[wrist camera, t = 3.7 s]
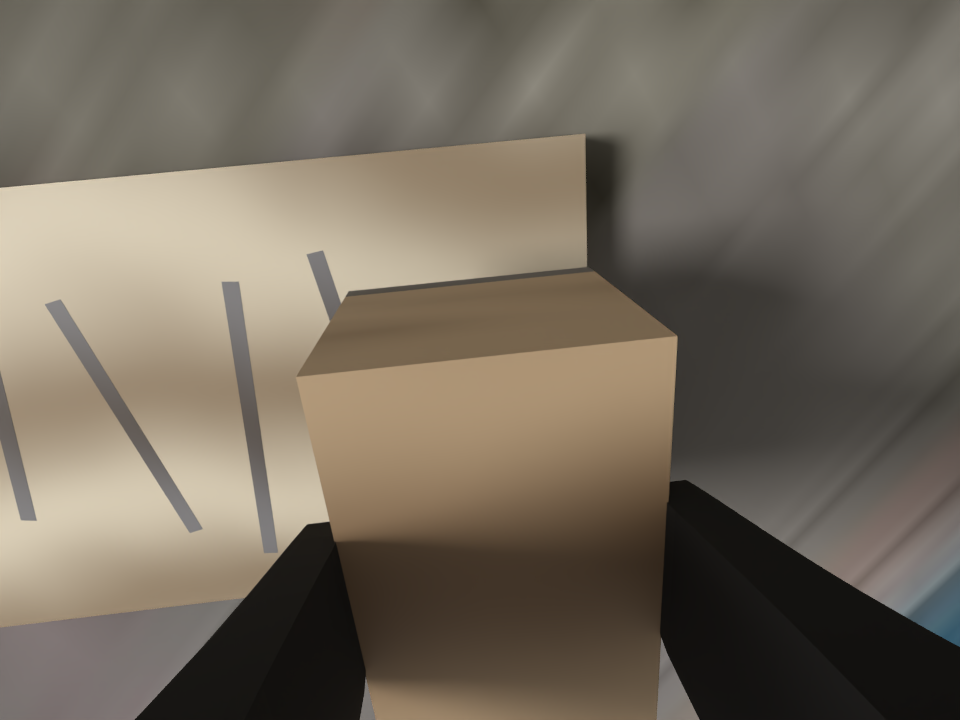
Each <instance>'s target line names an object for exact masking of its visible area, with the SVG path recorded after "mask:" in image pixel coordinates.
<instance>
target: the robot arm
mask: <svg viewBox="0 0 960 720" xmlns="http://www.w3.org/2000/svg"><path fill="white" fill-rule="evenodd" d="M660 635H661V638H662V640H663V643H664V646H665V648H666V651H667V654H668V656H669V658H670V660H671V662H672V664H673V666H674V668H675V670H676V672H677V674H678V676H679V679H680V681H681V683H682V685H683V687H684V689H685V691H686V693H687V695H688V697H689V699H690V701H691V703H692V705H693V707H694V709H695V711H696V713H697V715H698V717H699V719H700V720H960V647H958V646H957V645H955V644H953V643H951V642H949V641H947V640H946V639H944V638H942V637H940V636H938V635H936V634H935V633H933V632H931V631H929V630H927V629H925V628H924V627H922V626H920V625H918V624H917V623H915V622H913V621H911V620H910V619H908V618H906V617H904V616H903V615H901V614H899V613H898V612H896V611H894V610H892V609H891V608H889V607H887V606H885V605H884V604H882V603H880V602H878V601H877V600H875V599H873V598H872V597H870V596H868V595H866V594H865V593H863V592H861V591H859V590H858V589H856V588H855V587H853V586H851V585H850V584H848V583H846V582H845V581H843V580H841V579H840V578H838V577H836V576H835V575H833V574H831V573H830V572H828V571H827V570H825V569H823V568H822V567H820V566H819V565H817V564H815V563H814V562H812V561H811V560H809V559H807V558H806V557H804V556H803V555H801V554H800V553H798V552H796V551H795V550H793V549H792V548H790V547H789V546H787V545H785V544H784V543H782V542H781V541H779V540H778V539H776V538H775V537H773V536H772V535H770V534H769V533H767V532H766V531H764V530H762V529H761V528H759V527H758V526H756V525H755V524H753V523H752V522H750V521H749V520H747V519H746V518H744V517H743V516H741V515H740V514H738V513H737V512H735V511H734V510H732V509H731V508H729V507H728V506H726V505H725V504H723V503H722V502H720V501H719V500H717V499H716V498H714V497H713V496H711V495H709V494H708V493H706V492H705V491H703V490H702V489H700V488H699V487H697V486H695V485H694V484H692V483H690V482H689V481H687V480H682V481H673V482H670V484H669V502H667V511H666V530H665V548H664V567H663V585H662V604H661V622H660ZM365 677H366V669H365V665H364V661H363V656H362V652H361V648H360V643H359V639H358V635H357V630H356V626H355V622H354V618H353V613H352V609H351V605H350V600H349V596H348V592H347V588H346V583H345V579H344V575H343V570H342V566H341V562H340V558H339V553H338V549H337V545H336V542H334V538H333V534H332V529H331V525H330V522H322V523H313V524H307V525H306V526H305V527H304V528H303V529H302V531H301V532H300V533H299V534H298V535H297V536H296V538H295V539H294V540H293V541H292V542H291V543H290V545H289V546H288V547H287V548H286V549H285V551H284V552H283V553H282V554H281V555H280V557H279V558H278V559H277V560H276V561H275V563H274V564H273V565H272V566H271V567H270V569H269V570H268V571H267V572H266V573H265V575H264V576H263V577H262V578H261V579H260V581H259V582H258V583H257V584H256V585H255V587H254V588H253V589H252V590H251V591H250V593H249V594H248V595H247V596H246V597H245V599H244V600H243V601H242V602H241V603H240V604H239V606H238V607H237V608H236V609H235V610H234V611H233V612H232V614H231V615H230V616H229V617H228V618H227V619H226V621H225V622H224V623H223V624H222V625H221V626H220V627H219V629H218V630H217V631H216V632H215V633H214V634H213V636H212V637H211V638H210V639H209V640H208V641H207V643H206V644H205V645H204V646H203V647H202V648H201V649H200V650H199V651H198V653H197V654H196V655H195V656H194V657H193V658H192V659H191V660H190V661H189V662H188V663H187V664H186V665H185V667H184V668H183V669H182V670H181V671H180V672H179V673H178V674H177V675H176V676H175V677H174V678H173V679H172V680H171V682H170V683H169V684H168V685H167V686H166V687H165V688H164V689H163V690H162V691H161V692H160V693H159V694H158V696H157V697H156V698H155V699H154V700H153V701H152V702H151V703H150V704H149V705H148V706H147V707H146V708H145V709H144V711H143V712H142V713H141V714H140V715H139V716H138V717H137V718H136V719H135V720H359V719H360V714H361V708H362V702H363V697H364V689H365Z"/></svg>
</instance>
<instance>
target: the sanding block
mask: <svg viewBox="0 0 960 720" xmlns="http://www.w3.org/2000/svg"><path fill="white" fill-rule="evenodd" d="M677 339H678V336H677V335H676V334H674V333H673V332H672V331H671V330H669V329H668V328H667V327H665V326H664V325H663V324H662V323H660V322H659V321H658V320H656V319H655V318H654V317H653V316H651V315H650V314H649V313H647V312H646V311H645V310H644V309H642V308H641V307H640V306H639V305H637V304H636V303H635V302H633V301H632V300H631V299H630V298H628V297H627V296H626V295H624V294H623V293H622V292H621V291H619V290H618V289H617V288H615V287H614V286H613V285H612V284H610V283H609V282H608V281H607V280H605V279H604V278H603V277H601V276H600V275H599V274H598V273H596V272H595V271H594V270H592V269H591V268H590V267H582V268H572V269H562V270H552V271H543V272H533V273H523V274H513V275H503V276H494V277H484V278H474V279H464V280H454V281H445V282H435V283H425V284H415V285H405V286H396V287H386V288H376V289H366V290H356V291H349V292H348V293H347V295H346V297H345V298H344V300H343V301H342V303H341V305H340V306H339V308H338V310H337V311H336V313H335V314H334V316H333V318H332V319H331V321H330V322H329V324H328V326H327V327H326V329H325V331H324V332H323V334H322V335H321V337H320V339H319V340H318V342H317V344H316V345H315V347H314V348H313V350H312V352H311V353H310V355H309V357H308V358H307V360H306V361H305V363H304V365H303V366H302V368H301V370H300V371H299V373H298V374H297V376H296V380H297V384H298V389H299V393H300V397H301V401H302V406H303V410H304V414H305V418H306V423H307V427H308V431H309V436H310V440H311V444H312V448H313V453H314V457H315V461H316V465H317V470H318V474H319V478H320V483H321V487H322V491H323V495H324V500H325V504H326V508H327V512H328V517H329V521H330V525H331V529H332V534H333V538H334V542H336V545H337V549H338V553H339V558H340V562H341V566H342V570H343V575H344V579H345V583H346V588H347V592H348V596H349V600H350V605H351V609H352V613H353V618H354V622H355V626H356V630H357V635H358V639H359V643H360V648H361V652H362V656H363V661H364V665H365V669H366V679H367V683H368V687H369V692H370V696H371V700H372V705H373V709H374V713H375V717H376V720H656V719H657V701H658V683H659V665H660V647H661V635H660V622H661V604H662V585H663V567H664V548H665V530H666V511H667V502H669V484H670V466H671V447H672V429H673V411H674V393H675V375H676V357H677Z"/></svg>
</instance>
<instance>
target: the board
mask: <svg viewBox="0 0 960 720" xmlns="http://www.w3.org/2000/svg"><path fill="white" fill-rule="evenodd" d="M582 267H587V223H586V150H585V134H578V135H567V136H556V137H546V138H535V139H524V140H513V141H502V142H491V143H481V144H470V145H459V146H448V147H437V148H427V149H416V150H405V151H394V152H383V153H373V154H362V155H351V156H340V157H329V158H319V159H308V160H297V161H286V162H275V163H265V164H254V165H243V166H232V167H221V168H211V169H200V170H189V171H178V172H167V173H156V174H146V175H135V176H124V177H113V178H102V179H92V180H81V181H70V182H59V183H48V184H38V185H27V186H16V187H5V188H0V627H7V626H16V625H24V624H32V623H41V622H49V621H57V620H65V619H74V618H82V617H90V616H98V615H107V614H115V613H123V612H131V611H140V610H148V609H156V608H164V607H173V606H181V605H189V604H197V603H206V602H214V601H222V600H231V599H239V598H245V597H246V596H247V595H248V594H249V593H250V591H251V590H252V589H253V588H254V587H255V585H256V584H257V583H258V582H259V581H260V579H261V578H262V577H263V576H264V575H265V573H266V572H267V571H268V570H269V569H270V567H271V566H272V565H273V564H274V563H275V561H276V560H277V559H278V558H279V557H280V555H281V554H282V553H283V552H284V551H285V549H286V548H287V547H288V546H289V545H290V543H291V542H292V541H293V540H294V539H295V538H296V536H297V535H298V534H299V533H300V532H301V531H302V529H303V528H304V527H305V526H306V525H307V524H313V523H322V522H330V521H329V517H328V512H327V508H326V504H325V500H324V495H323V491H322V487H321V483H320V478H319V474H318V470H317V465H316V461H315V457H314V453H313V448H312V444H311V440H310V436H309V431H308V427H307V423H306V418H305V414H304V410H303V406H302V401H301V397H300V393H299V389H298V384H297V380H296V376H297V374H298V373H299V371H300V370H301V368H302V366H303V365H304V363H305V361H306V360H307V358H308V357H309V355H310V353H311V352H312V350H313V348H314V347H315V345H316V344H317V342H318V340H319V339H320V337H321V335H322V334H323V332H324V331H325V329H326V327H327V326H328V324H329V322H330V321H331V319H332V318H333V316H334V314H335V313H336V311H337V310H338V308H339V306H340V305H341V303H342V301H343V300H344V298H345V297H346V295H347V293H348V292H349V291H356V290H366V289H376V288H386V287H396V286H405V285H415V284H425V283H435V282H445V281H454V280H464V279H474V278H484V277H494V276H503V275H513V274H523V273H533V272H543V271H552V270H562V269H572V268H582Z"/></svg>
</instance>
